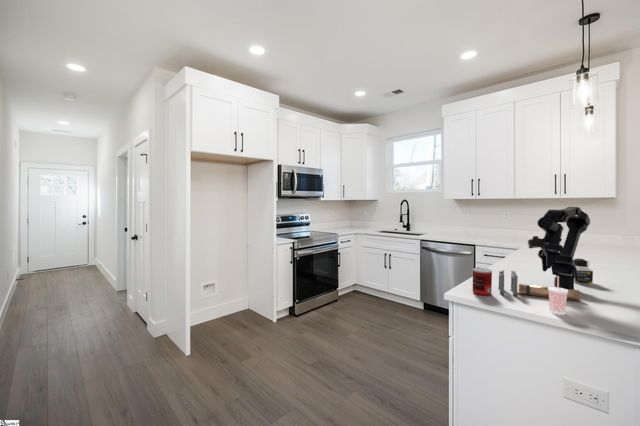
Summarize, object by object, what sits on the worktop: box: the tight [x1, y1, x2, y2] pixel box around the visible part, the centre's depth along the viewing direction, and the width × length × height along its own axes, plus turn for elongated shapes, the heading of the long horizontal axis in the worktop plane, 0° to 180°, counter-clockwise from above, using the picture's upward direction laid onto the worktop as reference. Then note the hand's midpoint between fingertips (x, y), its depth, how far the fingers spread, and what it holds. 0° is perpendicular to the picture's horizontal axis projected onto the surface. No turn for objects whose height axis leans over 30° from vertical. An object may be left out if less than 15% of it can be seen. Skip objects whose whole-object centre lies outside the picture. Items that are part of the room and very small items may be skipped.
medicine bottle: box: [571, 258, 594, 286], centre depth 152 cm, size 7×7×12 cm
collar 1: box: [498, 269, 505, 296], centre depth 138 cm, size 2×10×10 cm, turn 152°
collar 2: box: [510, 270, 519, 297], centre depth 136 cm, size 2×10×9 cm, turn 152°
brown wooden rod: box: [518, 283, 581, 302], centre depth 130 cm, size 21×4×4 cm, turn 62°
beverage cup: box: [547, 276, 568, 316], centre depth 113 cm, size 6×6×14 cm
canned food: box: [472, 267, 493, 297], centre depth 136 cm, size 8×8×11 cm
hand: (546, 269), depth 130 cm, fingers open, 9 cm apart
